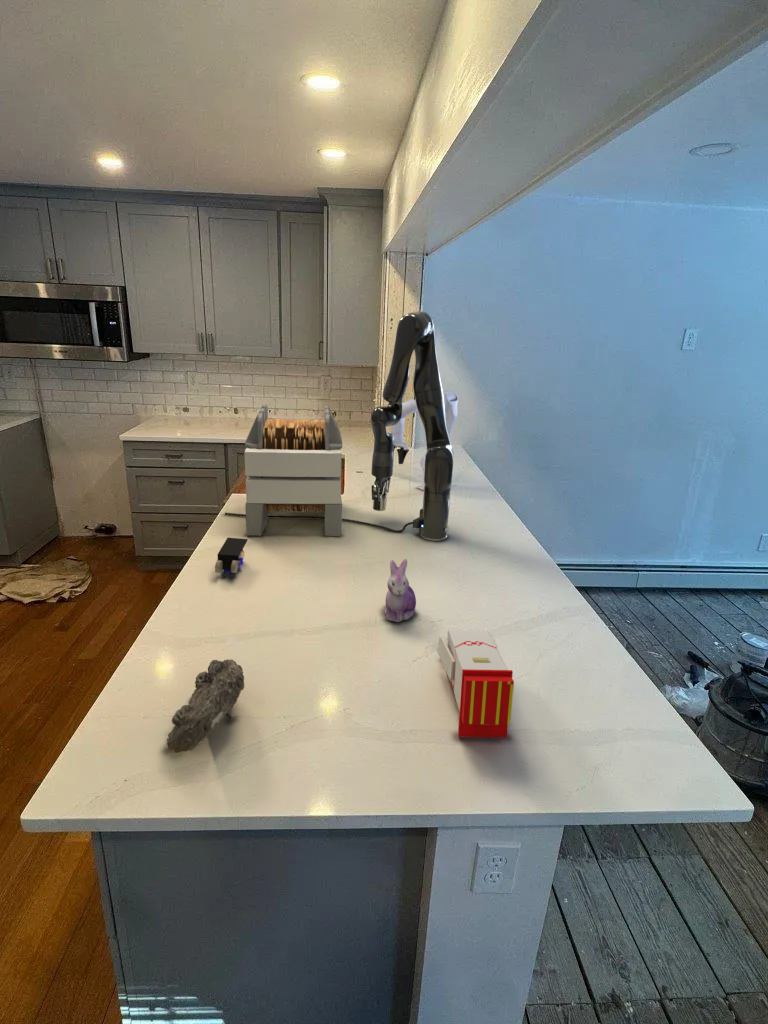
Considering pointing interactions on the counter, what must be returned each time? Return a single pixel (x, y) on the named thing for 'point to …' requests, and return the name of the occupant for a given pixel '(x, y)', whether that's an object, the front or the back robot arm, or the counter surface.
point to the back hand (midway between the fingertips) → (395, 461)
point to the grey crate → (293, 470)
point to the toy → (478, 682)
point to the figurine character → (230, 556)
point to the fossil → (206, 705)
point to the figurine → (399, 594)
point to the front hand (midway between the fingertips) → (379, 507)
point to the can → (382, 503)
